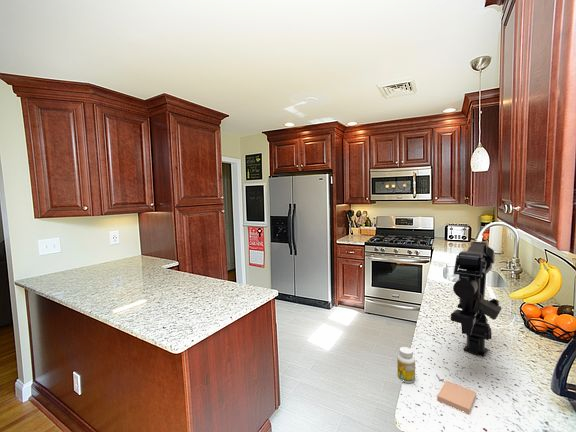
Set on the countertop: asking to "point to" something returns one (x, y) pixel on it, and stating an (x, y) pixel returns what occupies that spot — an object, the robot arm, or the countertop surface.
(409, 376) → the supplement bottle
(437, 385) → the countertop surface
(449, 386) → the tile
